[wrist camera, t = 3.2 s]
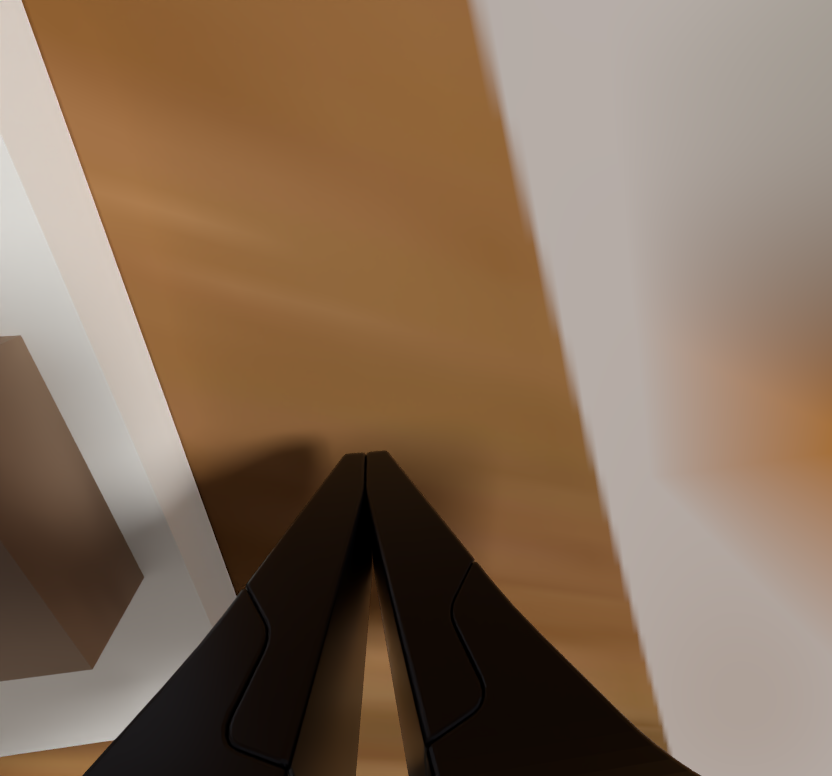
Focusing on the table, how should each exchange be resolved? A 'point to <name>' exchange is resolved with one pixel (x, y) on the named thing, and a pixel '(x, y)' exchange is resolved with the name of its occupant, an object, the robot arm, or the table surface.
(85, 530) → the walnut tile
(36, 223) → the plate
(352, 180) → the table surface
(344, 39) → the table surface
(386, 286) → the table surface
